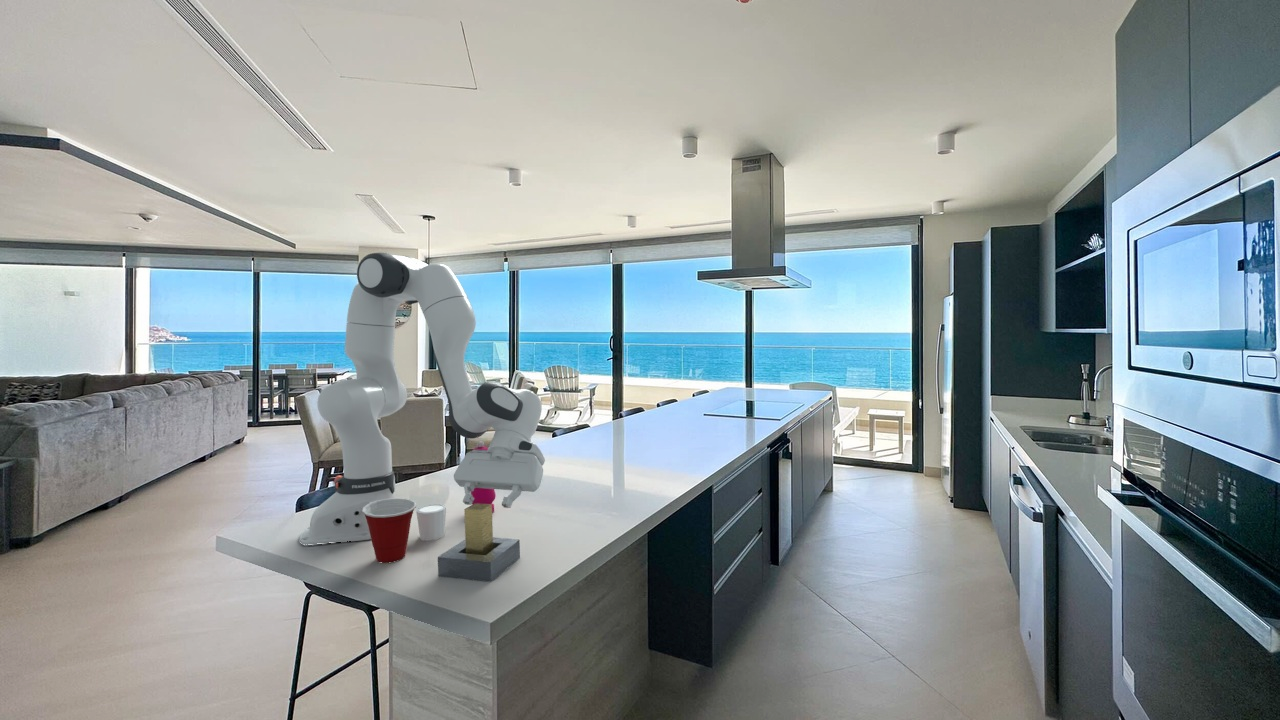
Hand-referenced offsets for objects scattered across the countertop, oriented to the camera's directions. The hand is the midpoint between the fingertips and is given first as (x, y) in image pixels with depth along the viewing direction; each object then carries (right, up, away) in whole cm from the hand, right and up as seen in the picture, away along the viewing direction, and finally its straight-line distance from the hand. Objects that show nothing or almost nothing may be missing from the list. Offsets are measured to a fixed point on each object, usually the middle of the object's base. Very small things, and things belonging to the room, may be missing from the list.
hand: (486, 505), depth 113 cm
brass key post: (0, -11, -3) cm, 12 cm away
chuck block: (0, -12, -3) cm, 13 cm away
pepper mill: (-11, -11, +33) cm, 37 cm away
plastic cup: (-22, -13, +2) cm, 25 cm away
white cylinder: (-18, -12, +15) cm, 26 cm away
